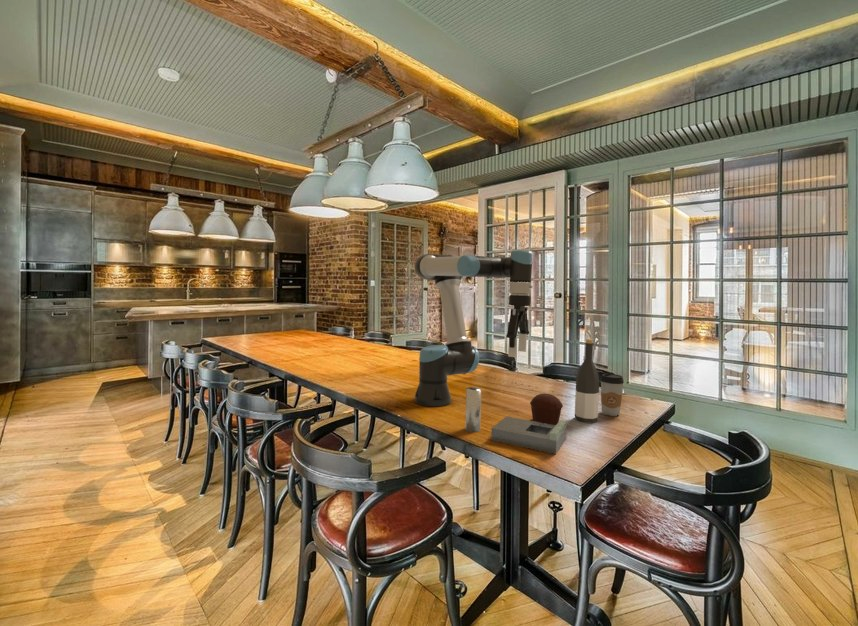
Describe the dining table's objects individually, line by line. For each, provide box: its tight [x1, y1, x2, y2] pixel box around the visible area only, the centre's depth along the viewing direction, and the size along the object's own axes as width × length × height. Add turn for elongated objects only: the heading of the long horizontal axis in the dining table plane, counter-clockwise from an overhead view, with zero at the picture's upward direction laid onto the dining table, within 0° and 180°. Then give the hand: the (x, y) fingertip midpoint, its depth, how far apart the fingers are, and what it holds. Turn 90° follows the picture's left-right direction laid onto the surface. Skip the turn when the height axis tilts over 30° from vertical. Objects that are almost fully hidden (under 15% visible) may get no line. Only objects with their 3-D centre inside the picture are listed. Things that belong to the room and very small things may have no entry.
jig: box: [490, 416, 568, 455], centre depth 130 cm, size 20×14×6 cm
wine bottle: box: [574, 338, 600, 424], centre depth 151 cm, size 8×8×30 cm
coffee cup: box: [599, 373, 625, 417], centre depth 160 cm, size 8×8×15 cm
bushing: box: [464, 386, 482, 433], centre depth 139 cm, size 5×5×14 cm
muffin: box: [529, 393, 564, 425], centre depth 148 cm, size 12×11×10 cm
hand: (517, 354), depth 147 cm, fingers open, 13 cm apart
